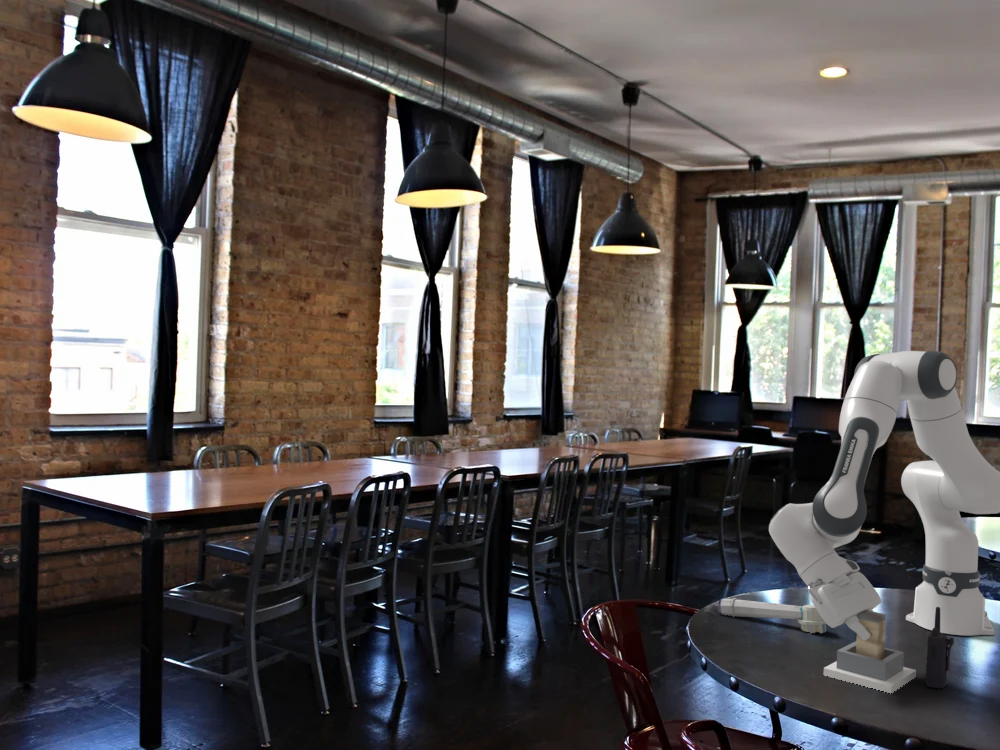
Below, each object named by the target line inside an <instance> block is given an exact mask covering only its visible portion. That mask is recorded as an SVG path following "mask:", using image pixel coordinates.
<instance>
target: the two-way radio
mask: <svg viewBox="0 0 1000 750" xmlns="http://www.w3.org/2000/svg"><path fill="white" fill-rule="evenodd" d="M954 643H955V639H954V637H949V638H948V637H947V635H946V634H945V633H941V632H940V607H936V612H935V627H934V628H933V629H932V630H931V632H930V633H929V634H928V636H927V650H926V651H927V653H926V664H925V667H926V668H925V671H926V673H925V685H926V687H928V688H931V687H932V689H936V688H937V689H936V690H939V689H943V688H945V687H946V685H947V677H948V676H947V675H948V674H947V672H948V671H949V670H950V658H951V649H952V646H953V645H954Z"/></svg>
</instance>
